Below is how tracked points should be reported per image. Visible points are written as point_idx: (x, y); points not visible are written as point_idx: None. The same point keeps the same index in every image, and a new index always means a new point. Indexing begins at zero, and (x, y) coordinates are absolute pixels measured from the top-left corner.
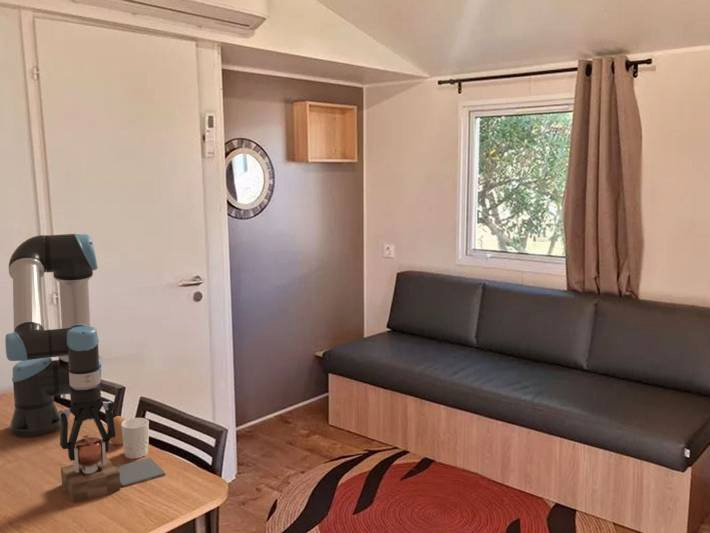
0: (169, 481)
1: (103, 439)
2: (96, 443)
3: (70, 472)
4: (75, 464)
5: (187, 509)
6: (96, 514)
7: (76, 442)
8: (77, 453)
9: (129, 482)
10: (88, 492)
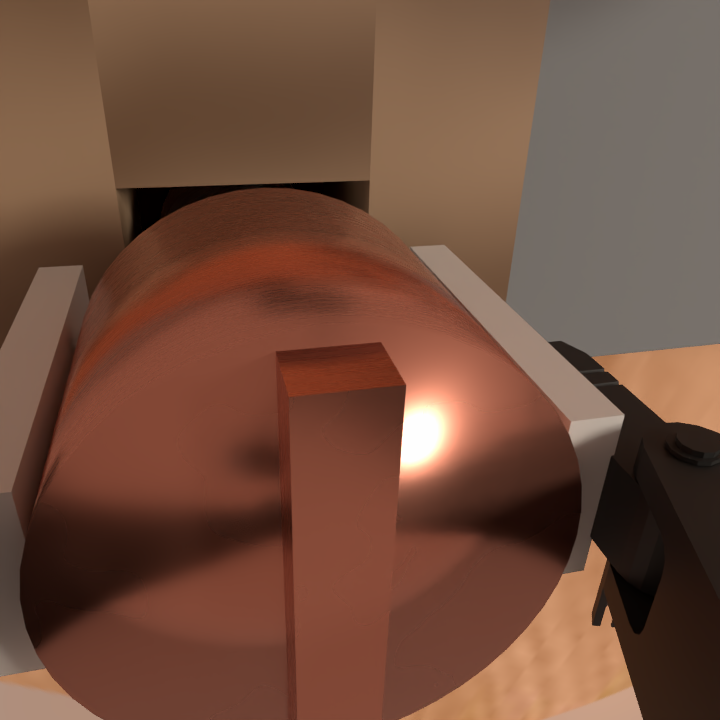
0: (703, 425)
1: (614, 537)
2: (437, 666)
3: (4, 238)
4: None
5: (582, 694)
6: None
7: (55, 487)
8: None
9: None
10: None
